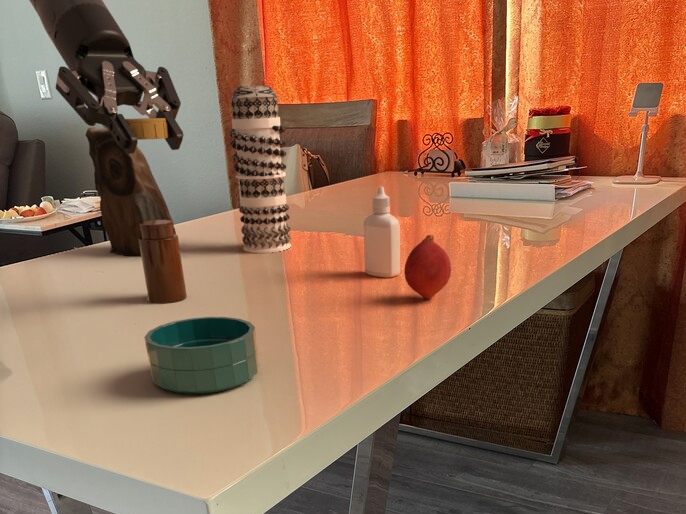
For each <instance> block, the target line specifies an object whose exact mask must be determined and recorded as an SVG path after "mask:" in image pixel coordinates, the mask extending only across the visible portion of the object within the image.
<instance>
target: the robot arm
mask: <svg viewBox="0 0 686 514" xmlns="http://www.w3.org/2000/svg"><path fill="white" fill-rule="evenodd" d="M28 1H29V2H30V4H31V6H32V7H33V9H34V11H35V12H36V14H37V16H38V17H39V20H40V22H41V24H42V26H43V29H44V31H45V32H46V34H47V36H48V38H49V39H50V41H51V42H52V43H53V46H54V47H55V49H56V50H57V52H58V53H59V55H60V56H61V59H62V60H63V62H64V63H65V65H66V66H59V68H58V72H57V77H56V83H55V90H56V91H57V92H58V94H60V96H61V97H62V98H63V99H64V100H65V101H66V103H67V104H68V105H70V107H71V108H72V109H73V110H74V112H75V113H76V114H77V115H78V116H79V118H81V120H82V121H83V123H85V124H86V125H88V126H90V127H94V126H96V124H98V125H101V126H102V128H106V129H108V130H109V131H110V133H111V134H112V136H113V138H114V139H115V141H116V142H117V144H118V146H119V147H120V148H122V149H124V150H125V152H126V153H127V154H132V153H134V152H135V149H136V146H137V147H138V143H139V142H138V140H137V137H136V136H135V134H134V132H133V131H132V129H131V128H130V126H129V124H128V123H127V121H126V120H125V119H126V118H125V116H124V114H123V113H118V107H120V106H129V107H132V108H133V109H134V110H135V111H136V112H138V114H139V115H141V116H147V118H165V119H166V123H167V129H168V136H169V137H168V138H164V140H165V142H166V143H167V145H168V147H169V148H170V149H171V150H172V151H176V150H177V151H178V150H180V148H181V146H182V142H183V138H184V136H185V135H184V131H183V130H182V128H181V127H180V125H179V123H178V122H177V120H176V118H177V116H178V113H179V111H180V107H181V105H182V104H181V103H182V102H181V99H180V97H179V95H178V93H177V90H176V87H175V86H174V82H173V79H172V78H171V76H170V72H169V71H168V69H167V68H166V67H164V66H158V68H157V71H151V70H146V68H145V67H144V66H143V64H141V63H139V62H138V60H137V59H136V58H135V57H134V54H133V50H132V47H131V44H130V42H129V40H128V38H127V37H126V35H125V34H124V32H123V30H122V29H121V27H120V26H119V24H118V22H117V21H116V19H115V17H114V16H113V15H112V13H111V11H110V10H109V8H108V7H107V5H106V3H105V2H104V1H103V0H28ZM93 95H94V96H95V97H94V96H93ZM142 97H143V98H142ZM153 105H154V106H155V107H156V108H157V109H158V110H156V109H155V108H154V106H153Z"/></svg>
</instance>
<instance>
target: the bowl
mask: <svg viewBox="0 0 686 514" xmlns="http://www.w3.org/2000/svg"><path fill="white" fill-rule="evenodd" d="M144 342H145V343H144V344H145V348H146V353H147V354H146V355H147V358H148V364H149V371H150V376H151V379H152V382H153V384H154V385H156V386H158V387H160V388H162V389H165V390H167V391H170V392H172V393H178V394H185V395H203V394H204V395H205V394H213V393H219V392H223V391H227V390H231V389H234V388H237V387H239V386H241V385H244V384H245V383H247V382H248V381H249V380H251V379H252V378H253V377H255V376H256V375H257V374H258V373H259V369H260V361H259V352H258V342H257V333H256V327H255V326H254V324H253V323H251V321H248V320H245V319H242V318H237V317H228V316H204V317H203V316H202V317H191V318H185V319H180V320H175V321H171V322H168V323H164V324H161V325H158V326H156V327H154V328H153V329H150V330H149V331H148V332H147V333H146V334H145V335H144Z"/></svg>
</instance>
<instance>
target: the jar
mask: <svg viewBox="0 0 686 514" xmlns="http://www.w3.org/2000/svg"><path fill="white" fill-rule="evenodd" d="M172 224H173V225H174V221H173V222H172V221H170V220H151V221H145V222H141V223H140V230H141V234H142V237H139V238H138V240H139V246H140V252H141V256H140V257H141V263H142V268H143V275H144V279H145V286H146V291H147V296H148V297H147V298H148V301H149V302H150V303H153V304H171V303H177V302H181V301H184V300H186V299H187V297H188V296H187V295H188V294H187V288H186V283H185V281H186V280H185V275H184V268H183V262H182V255H181V248H180V241H179V236H178V234H177V233H176V234H173V227H172Z"/></svg>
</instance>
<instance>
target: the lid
mask: <svg viewBox="0 0 686 514" xmlns="http://www.w3.org/2000/svg"><path fill="white" fill-rule="evenodd" d="M125 120H126V121H127V123H128V124H129V126H130V128H131V129H132V131H133V132H134V134H135V136H136V137H137V141H138V140H141V141H142V140H162V139H164V140H165V138H168V137H169V136H168V129H167V123H166V119H165V118H149V117H143V118H142V117H141V118H140V117H139V118H125Z"/></svg>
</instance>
